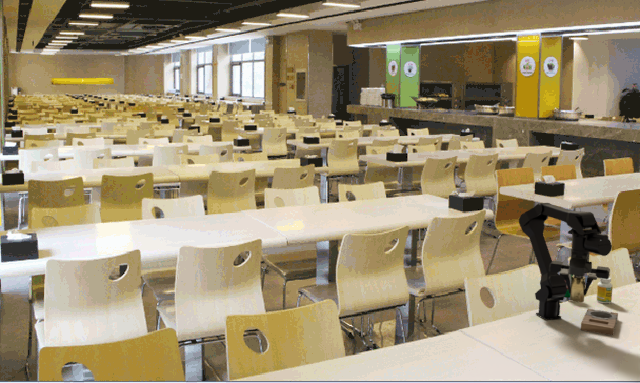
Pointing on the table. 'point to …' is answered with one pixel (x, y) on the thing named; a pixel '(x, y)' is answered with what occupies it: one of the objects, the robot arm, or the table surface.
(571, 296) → the tan salt shaker
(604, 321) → the socket block
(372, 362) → the table surface
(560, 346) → the table surface
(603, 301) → the supplement bottle
